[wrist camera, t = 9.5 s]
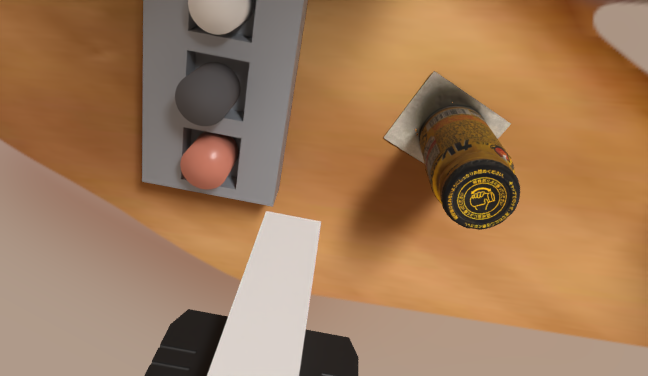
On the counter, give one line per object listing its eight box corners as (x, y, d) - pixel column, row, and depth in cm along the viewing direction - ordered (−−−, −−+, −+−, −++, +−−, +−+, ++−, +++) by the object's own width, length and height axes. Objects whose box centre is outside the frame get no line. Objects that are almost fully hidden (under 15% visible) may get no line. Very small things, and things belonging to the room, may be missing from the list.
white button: (206, -33, 37) (189, -31, 33) (257, -22, 37) (246, -19, 33) (202, 21, 39) (186, 28, 35) (251, 31, 39) (240, 39, 35)
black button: (193, 57, 38) (176, 68, 34) (243, 67, 38) (230, 79, 34) (190, 105, 40) (174, 120, 36) (238, 114, 40) (226, 130, 36)
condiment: (456, 184, 45) (486, 257, 35) (383, 137, 44) (390, 198, 33) (510, 122, 42) (561, 182, 32) (433, 69, 41) (459, 113, 30)
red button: (196, 125, 43) (181, 141, 39) (240, 134, 43) (229, 151, 39) (193, 165, 44) (179, 184, 41) (236, 173, 45) (225, 193, 41)
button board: (162, -64, 37) (143, -65, 34) (313, -34, 38) (308, -32, 34) (157, 165, 46) (142, 181, 43) (278, 188, 47) (272, 206, 43)
